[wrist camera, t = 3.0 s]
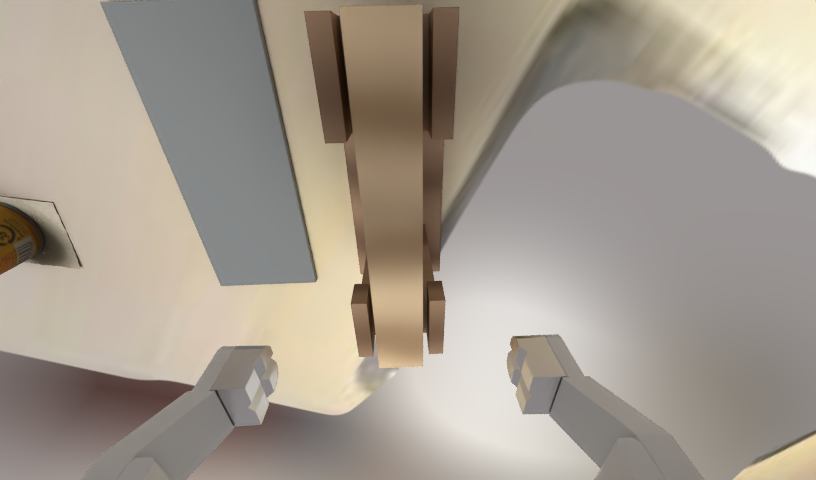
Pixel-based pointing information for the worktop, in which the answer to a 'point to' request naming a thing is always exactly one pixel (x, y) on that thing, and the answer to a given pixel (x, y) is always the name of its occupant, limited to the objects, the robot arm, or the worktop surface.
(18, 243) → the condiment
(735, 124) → the worktop surface
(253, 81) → the mat
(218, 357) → the robot arm
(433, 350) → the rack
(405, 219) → the rail
